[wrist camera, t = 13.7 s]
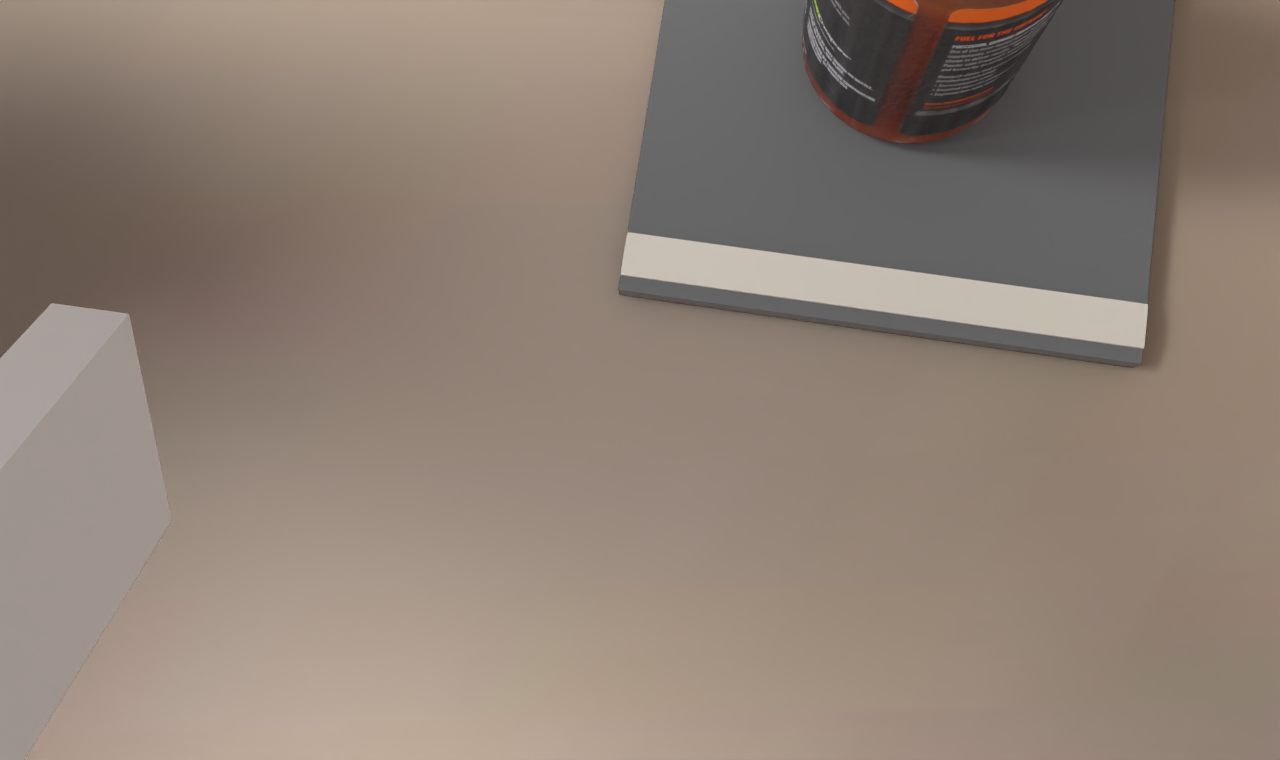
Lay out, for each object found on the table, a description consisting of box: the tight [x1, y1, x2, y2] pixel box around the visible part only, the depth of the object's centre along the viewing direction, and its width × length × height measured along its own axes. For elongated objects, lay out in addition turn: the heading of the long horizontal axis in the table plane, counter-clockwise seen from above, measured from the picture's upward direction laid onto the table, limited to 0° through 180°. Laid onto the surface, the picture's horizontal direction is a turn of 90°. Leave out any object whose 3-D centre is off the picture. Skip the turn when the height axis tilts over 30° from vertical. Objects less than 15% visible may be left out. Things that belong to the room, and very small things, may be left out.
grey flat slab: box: [618, 0, 1175, 367], centre depth 33 cm, size 14×16×1 cm
